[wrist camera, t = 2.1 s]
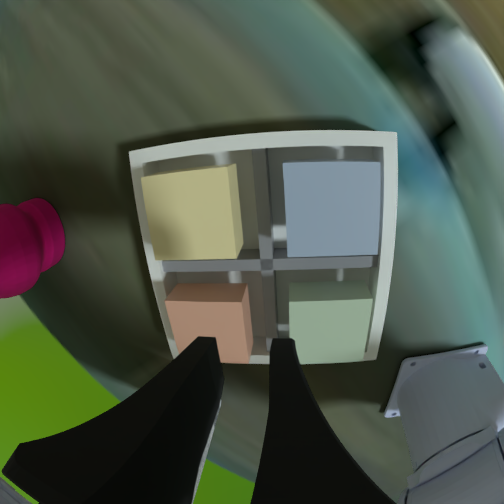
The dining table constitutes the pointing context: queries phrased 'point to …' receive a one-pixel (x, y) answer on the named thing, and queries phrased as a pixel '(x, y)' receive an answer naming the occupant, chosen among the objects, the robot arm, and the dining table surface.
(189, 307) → the terracotta key
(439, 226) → the dining table surface
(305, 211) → the slate-blue key
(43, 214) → the pepper mill
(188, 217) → the mustard key
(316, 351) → the sage key
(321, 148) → the keypad base
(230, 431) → the dining table surface
